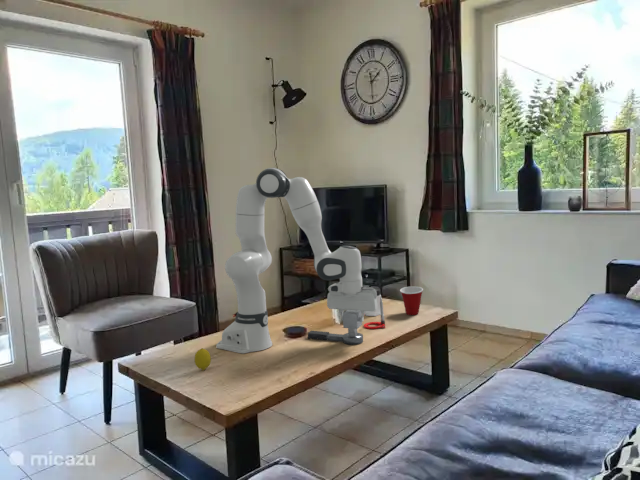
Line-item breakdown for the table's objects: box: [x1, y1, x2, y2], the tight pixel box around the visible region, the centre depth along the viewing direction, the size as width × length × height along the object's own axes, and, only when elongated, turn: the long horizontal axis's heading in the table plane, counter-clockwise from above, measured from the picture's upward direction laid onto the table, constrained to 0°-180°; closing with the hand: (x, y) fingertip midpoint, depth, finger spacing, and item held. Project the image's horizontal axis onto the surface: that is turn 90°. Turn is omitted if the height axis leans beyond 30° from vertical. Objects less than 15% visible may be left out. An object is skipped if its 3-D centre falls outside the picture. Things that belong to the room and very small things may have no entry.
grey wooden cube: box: [342, 310, 363, 330], centre depth 200 cm, size 6×6×6 cm
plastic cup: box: [399, 286, 424, 316], centre depth 237 cm, size 11×11×12 cm
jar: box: [364, 287, 382, 317], centre depth 240 cm, size 9×8×12 cm
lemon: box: [194, 348, 212, 371], centre depth 177 cm, size 6×6×8 cm
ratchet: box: [307, 328, 364, 346], centre depth 204 cm, size 23×8×6 cm, turn 67°
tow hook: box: [363, 296, 386, 330], centre depth 220 cm, size 8×13×9 cm
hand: (352, 320), depth 200 cm, fingers closed on grey wooden cube, 6 cm apart
